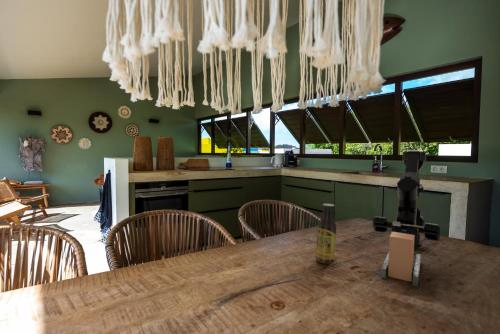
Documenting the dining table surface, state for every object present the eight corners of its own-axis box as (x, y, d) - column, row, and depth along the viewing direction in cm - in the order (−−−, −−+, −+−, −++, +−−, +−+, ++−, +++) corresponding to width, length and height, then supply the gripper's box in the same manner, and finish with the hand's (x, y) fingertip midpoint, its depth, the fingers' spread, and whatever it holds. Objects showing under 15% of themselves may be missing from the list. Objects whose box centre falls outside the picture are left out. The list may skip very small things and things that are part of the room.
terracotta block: (390, 269, 87) (392, 231, 86) (412, 274, 83) (414, 235, 83) (387, 276, 82) (389, 236, 81) (411, 281, 78) (413, 240, 78)
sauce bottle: (312, 261, 95) (314, 204, 94) (321, 256, 100) (322, 201, 99) (330, 266, 91) (331, 207, 90) (338, 261, 95) (340, 204, 94)
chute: (389, 259, 97) (390, 248, 97) (420, 266, 92) (420, 254, 92) (380, 281, 81) (381, 268, 81) (417, 290, 76) (418, 276, 76)
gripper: (439, 227, 94) (437, 270, 85) (378, 219, 104) (372, 257, 95) (440, 208, 87) (439, 252, 78) (376, 201, 97) (368, 240, 88)
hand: (402, 251), depth 85 cm, fingers closed, pressing on terracotta block
